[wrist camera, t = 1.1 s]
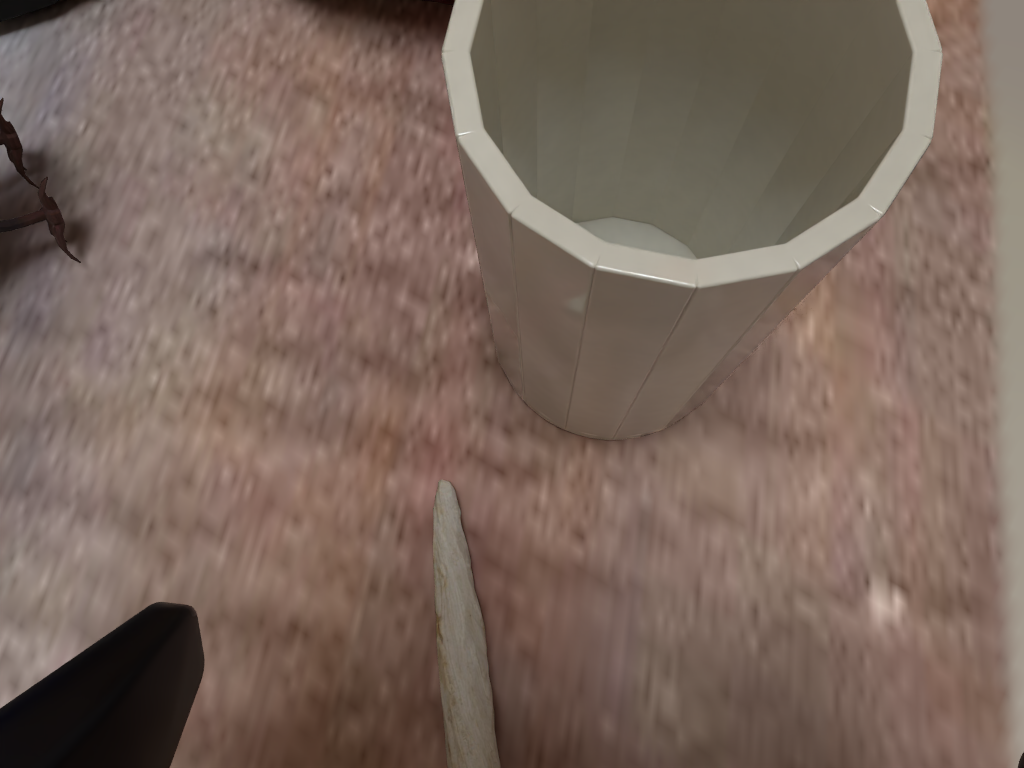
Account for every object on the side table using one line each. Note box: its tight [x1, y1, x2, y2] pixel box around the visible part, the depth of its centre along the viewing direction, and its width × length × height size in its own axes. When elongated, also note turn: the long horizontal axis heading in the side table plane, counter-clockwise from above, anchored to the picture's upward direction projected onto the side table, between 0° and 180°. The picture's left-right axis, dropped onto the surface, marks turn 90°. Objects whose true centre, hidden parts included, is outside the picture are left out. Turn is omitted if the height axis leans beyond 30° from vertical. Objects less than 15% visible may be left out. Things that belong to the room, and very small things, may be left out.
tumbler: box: [441, 0, 943, 440], centre depth 17 cm, size 7×7×12 cm
